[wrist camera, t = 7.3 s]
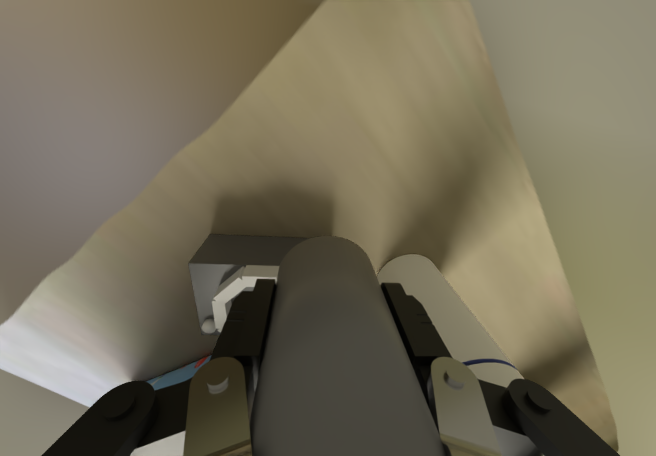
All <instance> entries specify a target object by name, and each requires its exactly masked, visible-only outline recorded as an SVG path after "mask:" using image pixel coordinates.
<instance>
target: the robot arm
mask: <svg viewBox="0 0 656 456" xmlns="http://www.w3.org/2000/svg"><path fill="white" fill-rule="evenodd" d="M275 286H276V280H275V279H257V280H256V283H255V286H254V289H253V291H242V292H241V293H240V294H239V295H238V296H237V297H236V298H235V299H234V300H233V303H232V305H231V308H230V311H229V313H228V316H227V318H226V322H225V323H224V326H223V328H222V331H221V333H220V336H219V338H218V341H217V343H216V346H215V348H214V351H213V354H212V356H211V358H210V360H209V362H207V363H205V364H204V365H203V366H202V367H200V368H199V369H198V370H197V372H196V373H195V374H194V376H193V377H192V378H190V379H188V380H186V381H183V382H180V383H177V384H174V385H171V386H167V387H164V388H161V389H158V390H154V388H153V386H152V385H151V384H149V383H148V382H145V381H131V382H127V383H124V384H122V385H119V386H117V387H115V388H113V389H112V390H110V391H109V392H107V393H106V394H105V395H103V396H102V397H101V398H100V399H99V400H98V401H97V402H96V403H94V404H93V405H92V406H91V407H90V408H89V409H88V410H87V411H86V412H85V414H83V415H82V416H81V417H80V418H79V419H78V420H77V421H76V422H75V423H74V424H73V425H72V426H71V427H70V428H69V429H68V430H67V431H66V432H65V433H64V434H63V435H62V436H61V437H60V438H59V439H58V440H57V441H56V442H55V443H54V444H53V445H52V446H51V447H50V448H49V449H48V450H47V451H46V452H45V453H44V454H43V455H42V456H252V448H251V438H250V427H249V422H250V416H251V411H252V406H253V401H254V395H255V390H256V385H257V380H258V375H259V370H260V365H261V360H262V354H263V349H264V344H265V339H266V334H267V328H268V323H269V318H270V313H271V307H272V302H273V297H274V292H275ZM380 286H381V289H382V292H383V294H384V297H385V299H386V302H387V304H388V307H389V309H390V312H391V314H392V317H393V319H394V322H395V324H396V327H397V329H398V332H399V334H400V337H401V339H402V342H403V344H404V347H405V349H406V352H407V354H408V357H409V359H410V362H411V364H412V367H413V369H414V372H415V374H416V377H417V379H418V382H419V384H420V387H421V389H422V392H423V394H424V397H425V399H426V402H427V404H428V407H429V409H430V412H431V414H432V417H433V419H434V422H435V425H436V427H437V430H438V432H439V435H440V437H441V440H442V444H443V447H444V450H445V454H446V456H543V455H544V456H620V455H619V454H618V453H617V452H616V451H614V450H613V449H612V448H611V447H610V446H609V445H608V444H607V443H606V442H605V441H603V440H602V439H601V438H600V437H599V436H598V435H597V434H596V433H595V432H593V431H592V430H591V429H590V428H589V427H588V426H587V425H586V424H585V423H584V422H582V421H581V420H580V419H579V418H578V417H577V416H576V415H575V414H574V413H572V412H571V411H570V410H569V409H568V408H567V407H566V406H565V405H564V404H562V403H561V402H560V401H559V400H558V399H557V398H556V397H555V396H554V395H553V394H551V393H550V392H549V391H548V390H546V389H545V388H543V387H542V386H540V385H538V384H536V383H534V382H532V381H530V380H526V379H514V380H512V381H511V382H510V384H509V385H508V387H507V388H506V387H503V386H500V385H496V384H493V383H489V382H486V381H483V380H480V379H477V377H476V376H475V374H474V373H473V372H472V371H471V370H470V369H469V368H468V367H467V366H466V365H464V364H463V363H461V362H460V361H458V360H456V359H453V358H452V356H451V354H450V353H449V351H448V349H447V347H446V345H445V344H444V342H443V340H442V338H441V337H440V335H439V333H438V331H437V330H436V328H435V326H434V325H433V324H432V321H431V319H430V317H429V316H428V314H427V312H426V310H425V309H424V307H423V305H422V304H421V303H420V302H419V301H418V300H417V299H416V298H415V297H414V296H413V295H406V293H405V291H404V289H403V287H402V285H401V284H400V283H386V282H382V283H381V285H380Z"/></svg>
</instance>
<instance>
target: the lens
mask: <svg viewBox="0 0 656 456" xmlns="http://www.w3.org/2000/svg"><path fill="white" fill-rule="evenodd" d="M249 427H250V438H251V448H252V456H446V454H445V450H444V447H443V444H442V440H441V437H440V435H439V432H438V430H437V427H436V425H435V422H434V419H433V417H432V414H431V412H430V409H429V407H428V404H427V402H426V399H425V397H424V394H423V392H422V389H421V387H420V384H419V382H418V379H417V377H416V374H415V372H414V369H413V367H412V364H411V362H410V359H409V357H408V354H407V352H406V349H405V347H404V344H403V342H402V339H401V337H400V334H399V332H398V329H397V327H396V324H395V322H394V319H393V317H392V314H391V312H390V309H389V307H388V304H387V302H386V299H385V297H384V294H383V292H382V289H381V286H380V284H379V281H378V279H377V276H376V274H375V271H374V269H373V266H372V264H371V262H370V259H369V257H368V256H367V254H366V253H365V252H364V250H363V249H362V248H360V247H359V246H358V245H357V244H355V243H353V242H351V241H349V240H347V239H344V238H341V237H336V236H319V237H314V238H310V239H307V240H305V241H303V242H301V243H299V244H297V245H296V246H294V247H293V248H292V249H291V250H290V251H289V252H288V253H287V254H286V255H285V257H284V258H283V260H282V262H281V264H280V266H279V270H278V275H277V281H276V286H275V292H274V297H273V302H272V307H271V313H270V318H269V323H268V328H267V334H266V339H265V344H264V349H263V354H262V360H261V365H260V370H259V375H258V380H257V385H256V390H255V395H254V401H253V406H252V411H251V416H250V422H249Z"/></svg>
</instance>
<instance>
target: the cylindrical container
mask: <svg viewBox="0 0 656 456" xmlns="http://www.w3.org/2000/svg"><path fill="white" fill-rule="evenodd" d="M377 279H378V281H379V284H380V285H381V283H382V282H386V283H400V284H401V285H402V287H403V289H404V291H405V293H406V295H413V296H414V297H415V298H416V299H417V300H418V301H419V302H420V303H421V304H422V305H423V307H424V309H425V310H426V312H427V314H428V316H429V317H430V319H431V321H432V324H433V325H434V326H435V328H436V330H437V331H438V333H439V335H440V337H441V338H442V340H443V342H444V344H445V345H446V347H447V349H448V351H449V353H450V354H451V356H452V358H453V359H456V360H458V361H460V362H461V363H463V364H464V365H466V366H467V367H468V368H469V369H470V370H471V371H472V372H473V373H474V374H475V376H476V377H477V379H480V380H483V381H486V382H489V383H493V384H496V385H500V386H503V387H506V388H507V387H508V385H509V384H510V382H511V381H512V380H514V379H524V378H523V376H522V375H521V374H520V373H519V371H518V370H517V369H516V367H515V366H514V365H513V364H512V362H511V361H510V360H509V359H508V357H507V356H506V355H505V354H504V352H503V351H502V350H501V348H500V347H499V346H498V345H497V343H496V342H495V341H494V340H493V338H492V337H491V336H490V335H489V333H488V332H487V331H486V329H485V328H484V327H483V326H482V324H481V323H480V322H479V321H478V319H477V318H476V317H475V316H474V314H473V313H472V312H471V310H470V309H469V308H468V307H467V305H466V304H465V303H464V302H463V300H462V299H461V298H460V297H459V295H458V294H457V293H456V291H455V290H454V289H453V288H452V286H451V285H450V284H449V283H448V281H447V280H446V279H445V278H444V276H443V275H442V274H441V272H440V271H439V270H438V269H437V267H436V266H435V265H434V264H433V262H432V261H431V260H429V259H428V258H426V257H424V256H421V255H417V254H408V255H402V256H399V257H396V258H394V259H392V260H391V261H389V262H388V263H386V264H385V265H384V266H383V267H382V269H381V270H380V271H379V273H378V275H377ZM543 456H544V455H543Z"/></svg>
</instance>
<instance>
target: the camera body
mask: <svg viewBox="0 0 656 456" xmlns="http://www.w3.org/2000/svg"><path fill="white" fill-rule="evenodd" d="M307 239H310V238H290V237H265V236H241V235H216V234H210V235H209V236H208V238H207V239H206V240H205V242H204V243H203V244H202V246H201V247H200V248H199V250H198V251H197V252H196V254H195V255H194V256H193V258H192V259H191V260H190V262H189V263H188V264H189V270H190V275H191V281H192V286H193V291H194V297H195V302H196V307H197V313H198V318H199V324H200V329H201V334H202V335H220V333H221V331H222V328H223V326H224V323H225V322H226V318H227V316H228V313H229V311H230V308H231V305H232V303H233V300H234V299H235V298H236V297H237V296H238V295H239V294H240V293H241V292H242V291H253V289H254V286H255V283H256V280H257V279H275V280H276V281H277V275H278V270H279V266H280V264H281V262H282V260H283V258H284V257H285V255H286V254H287V253H288V252H289V251H290V250H291V249H292V248H293V247H294V246H296V245H297V244H299V243H301V242H303V241H305V240H307Z"/></svg>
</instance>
